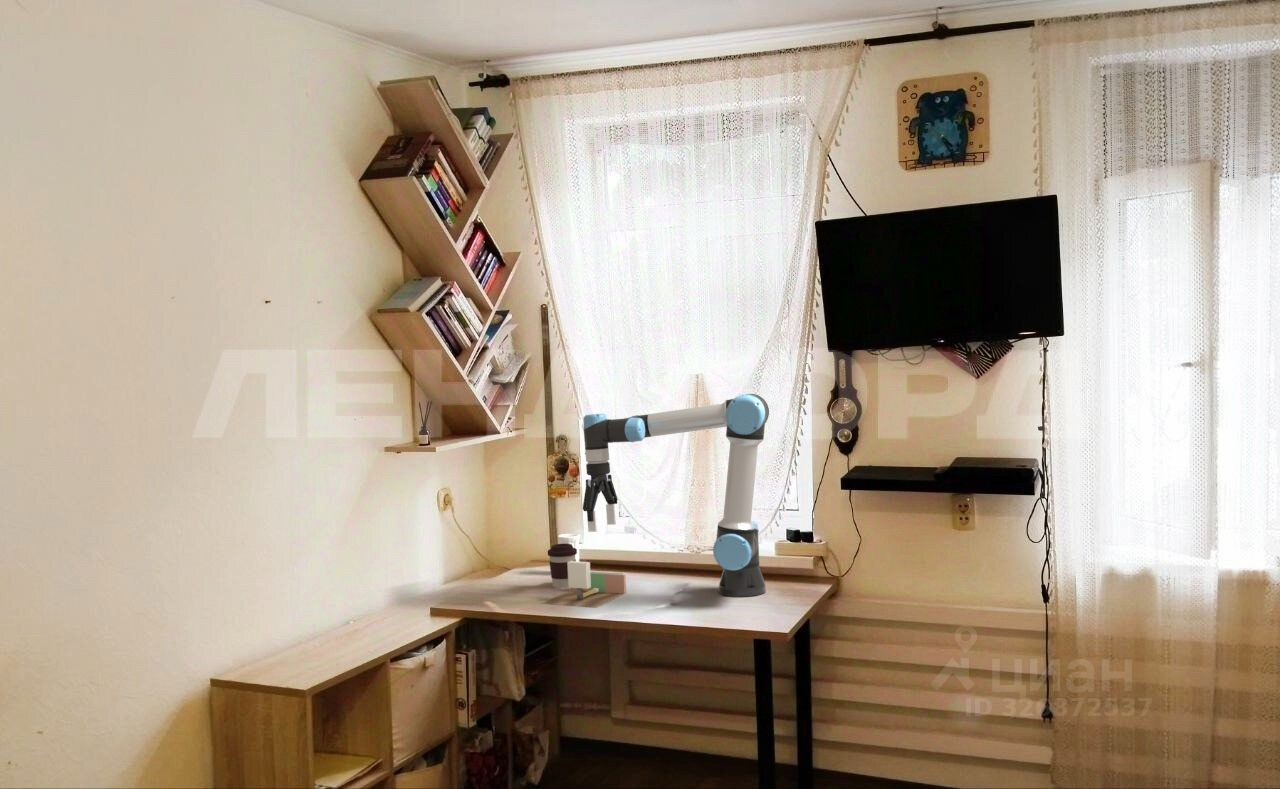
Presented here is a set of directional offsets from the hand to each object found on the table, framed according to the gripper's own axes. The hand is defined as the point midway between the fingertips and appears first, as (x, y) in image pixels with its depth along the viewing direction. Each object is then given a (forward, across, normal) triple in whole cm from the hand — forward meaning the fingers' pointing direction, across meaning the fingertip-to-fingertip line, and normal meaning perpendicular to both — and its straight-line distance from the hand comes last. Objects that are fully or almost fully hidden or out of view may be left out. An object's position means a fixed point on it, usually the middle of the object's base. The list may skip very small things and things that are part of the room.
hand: (602, 528), depth 326 cm
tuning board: (+23, +4, -6) cm, 24 cm away
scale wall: (+22, -5, -6) cm, 23 cm away
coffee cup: (+23, -10, -22) cm, 33 cm away
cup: (+23, -33, -31) cm, 51 cm away
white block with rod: (+22, +3, -6) cm, 23 cm away
